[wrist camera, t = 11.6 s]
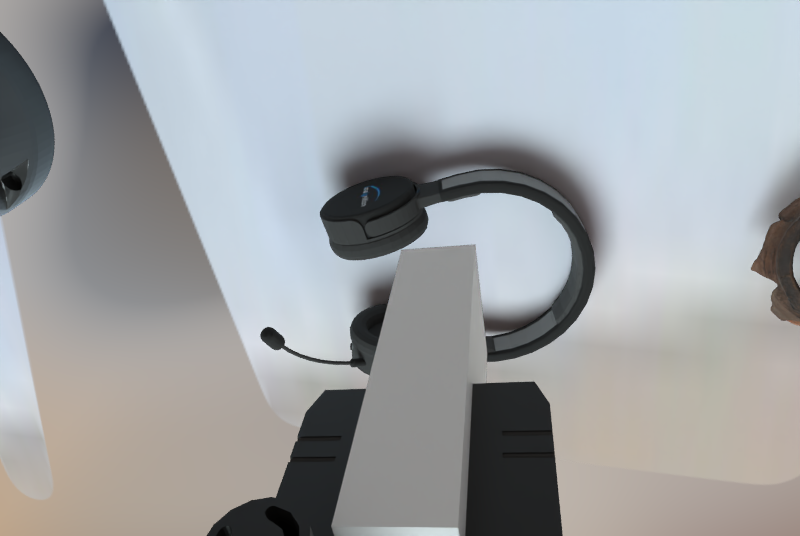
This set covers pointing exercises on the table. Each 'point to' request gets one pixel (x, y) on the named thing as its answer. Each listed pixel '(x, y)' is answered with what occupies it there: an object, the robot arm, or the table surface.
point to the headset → (407, 220)
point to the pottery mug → (782, 263)
